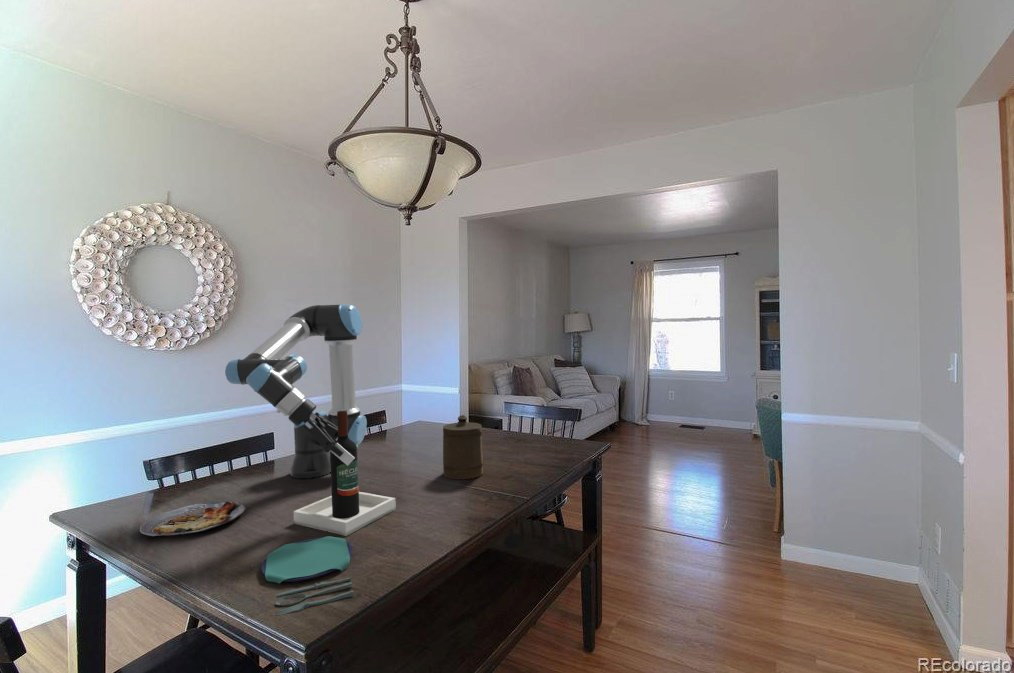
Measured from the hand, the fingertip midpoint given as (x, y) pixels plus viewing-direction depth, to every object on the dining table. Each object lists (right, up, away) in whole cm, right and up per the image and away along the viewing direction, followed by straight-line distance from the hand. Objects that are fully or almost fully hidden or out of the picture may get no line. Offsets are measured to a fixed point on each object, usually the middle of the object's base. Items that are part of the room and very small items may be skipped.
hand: (353, 455), depth 138 cm
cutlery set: (+1, -19, -33) cm, 38 cm away
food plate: (-44, -19, -3) cm, 48 cm away
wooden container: (+29, -17, +39) cm, 51 cm away
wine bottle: (-2, -17, 0) cm, 17 cm away
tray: (-2, -18, 0) cm, 18 cm away
